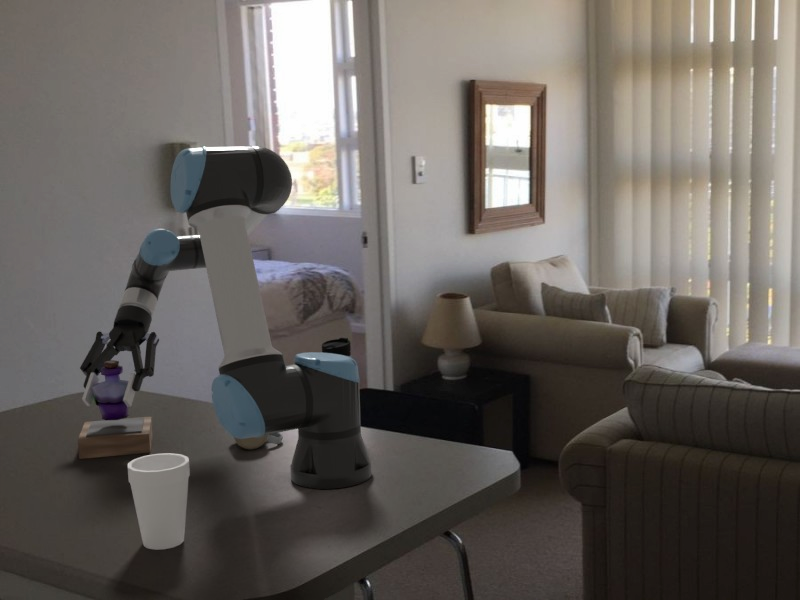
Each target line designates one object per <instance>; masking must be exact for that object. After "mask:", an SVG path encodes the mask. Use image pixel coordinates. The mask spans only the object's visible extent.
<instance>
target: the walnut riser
mask: <svg viewBox="0 0 800 600" xmlns="http://www.w3.org/2000/svg"><path fill="white" fill-rule="evenodd" d="M153 429H154V428H153V418H152V416H141V417H130V418H129V417H127V418H124V419H120V420H104V419H101V420H94V421H84V423H83V426H82V429H81V430H80V433H79V436H78V439H77V445H78V446H77V449H78V456H79V457H78V459H80V460H82V459H93V458H105V457H114V456H117V457H118V456H127V455H137V454H138V455H139V454H149V453H151V451H152V442H153V436H154V434H153V433H154V432H153V431H154V430H153Z"/></svg>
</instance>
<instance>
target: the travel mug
mask: <svg viewBox="0 0 800 600" xmlns="http://www.w3.org/2000/svg"><path fill="white" fill-rule="evenodd" d="M351 351H352V350H351V341H350V340H349V337H339V338H337V339H335V338H334V339H329V340H326V341H325V342H323V343H322V344H321V353H332V354H339V355H344V356H348V357H350V358H352V354H351Z"/></svg>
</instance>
